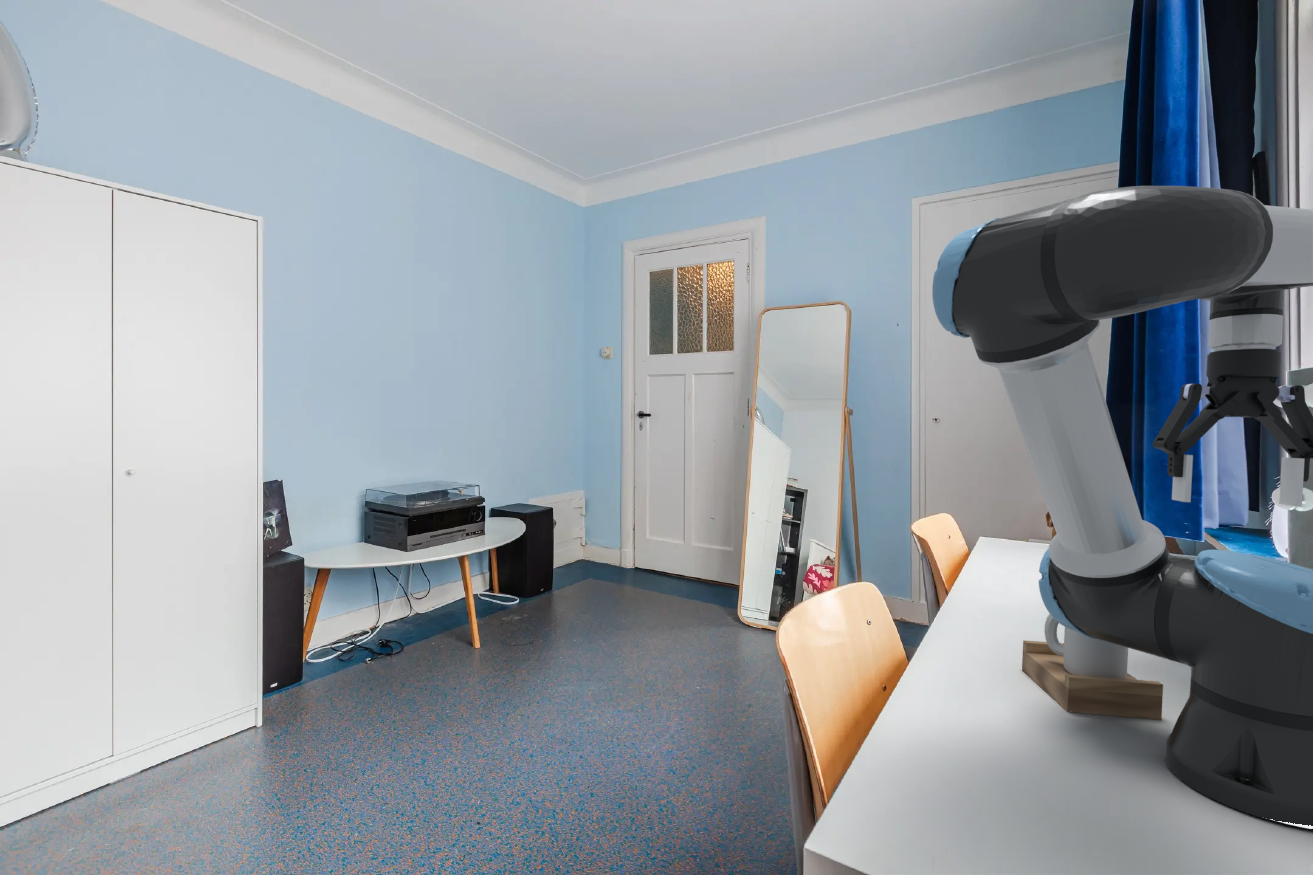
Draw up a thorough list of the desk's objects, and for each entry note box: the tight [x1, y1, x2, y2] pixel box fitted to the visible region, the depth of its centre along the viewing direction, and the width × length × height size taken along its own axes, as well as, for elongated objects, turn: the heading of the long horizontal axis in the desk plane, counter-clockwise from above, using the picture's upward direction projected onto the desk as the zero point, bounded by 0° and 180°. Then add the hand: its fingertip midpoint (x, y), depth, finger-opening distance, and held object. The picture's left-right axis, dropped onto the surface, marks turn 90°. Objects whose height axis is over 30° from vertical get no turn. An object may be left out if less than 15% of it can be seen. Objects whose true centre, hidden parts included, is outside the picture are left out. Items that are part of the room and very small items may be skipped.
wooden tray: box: [1021, 640, 1164, 721], centre depth 89 cm, size 14×11×4 cm
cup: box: [1044, 613, 1129, 679], centre depth 89 cm, size 7×10×9 cm
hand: (1235, 503), depth 89 cm, fingers open, 13 cm apart
